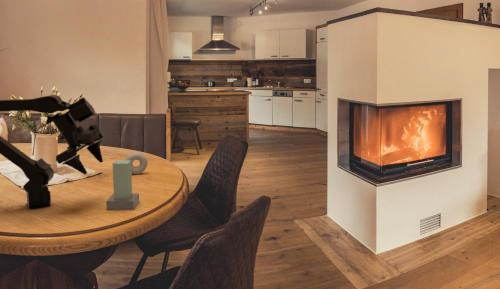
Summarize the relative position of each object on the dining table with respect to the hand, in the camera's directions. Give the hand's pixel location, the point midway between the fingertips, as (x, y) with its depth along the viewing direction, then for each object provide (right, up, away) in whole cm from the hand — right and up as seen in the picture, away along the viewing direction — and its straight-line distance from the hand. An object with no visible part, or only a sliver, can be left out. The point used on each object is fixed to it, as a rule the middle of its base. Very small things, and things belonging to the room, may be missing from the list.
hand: (94, 167), depth 142 cm
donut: (+3, -5, +44) cm, 44 cm away
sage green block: (+10, -10, 0) cm, 14 cm away
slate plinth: (+10, -13, +1) cm, 16 cm away
